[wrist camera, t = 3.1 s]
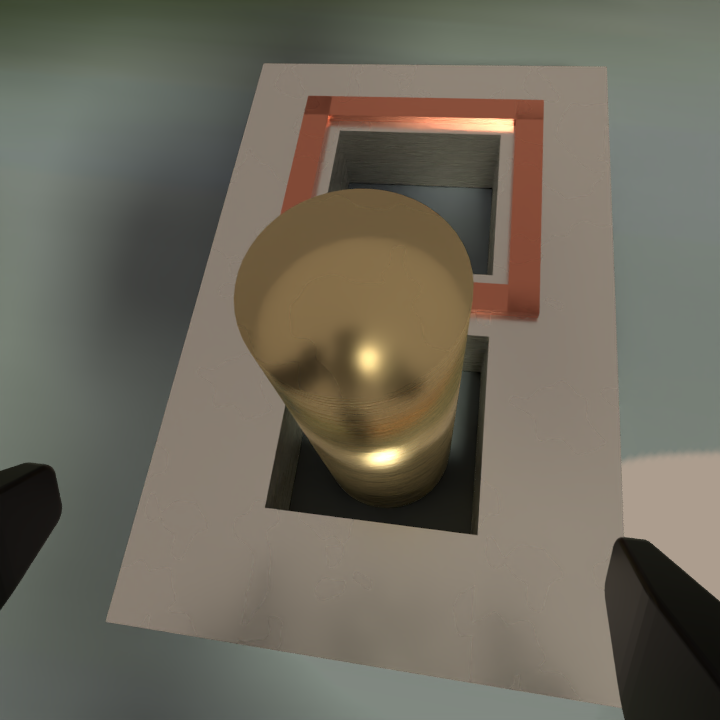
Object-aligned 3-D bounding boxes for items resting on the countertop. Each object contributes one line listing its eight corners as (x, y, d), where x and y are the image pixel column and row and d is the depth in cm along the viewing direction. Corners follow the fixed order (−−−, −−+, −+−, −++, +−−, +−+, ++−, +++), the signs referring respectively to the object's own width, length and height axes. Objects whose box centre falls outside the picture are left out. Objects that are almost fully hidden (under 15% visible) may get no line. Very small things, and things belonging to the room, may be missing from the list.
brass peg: (475, 436, 20) (523, 265, 10) (395, 535, 19) (363, 450, 9) (380, 365, 22) (341, 154, 12) (301, 453, 21) (186, 303, 11)
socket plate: (596, 694, 17) (634, 710, 14) (151, 620, 19) (99, 621, 16) (587, 125, 25) (608, 59, 22) (279, 118, 28) (262, 57, 24)
